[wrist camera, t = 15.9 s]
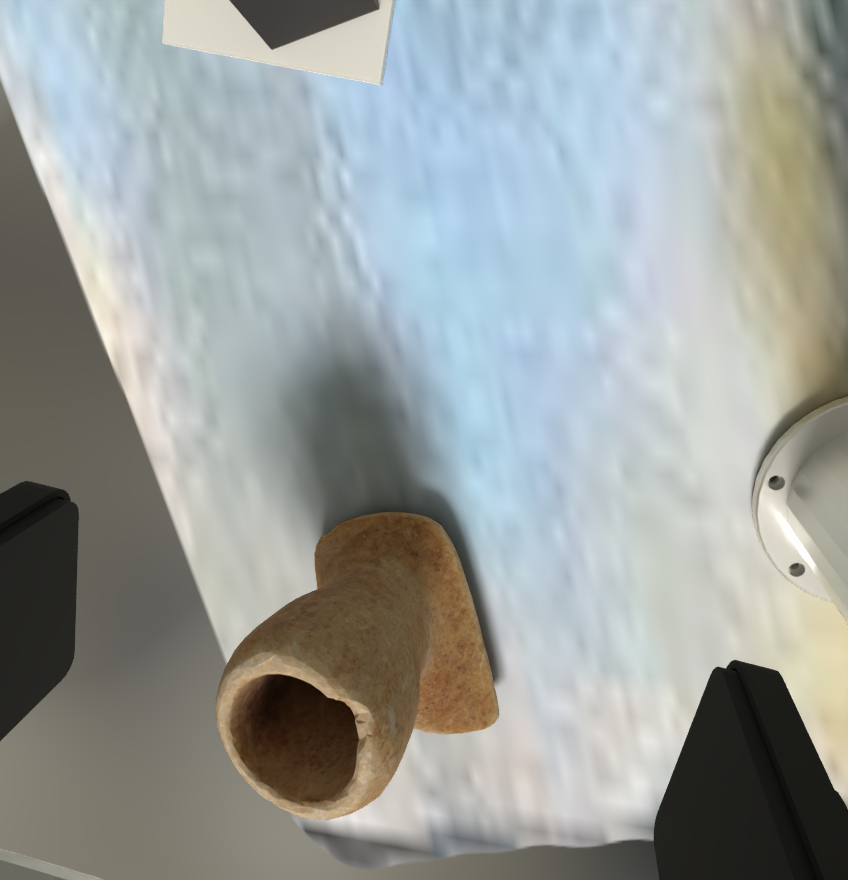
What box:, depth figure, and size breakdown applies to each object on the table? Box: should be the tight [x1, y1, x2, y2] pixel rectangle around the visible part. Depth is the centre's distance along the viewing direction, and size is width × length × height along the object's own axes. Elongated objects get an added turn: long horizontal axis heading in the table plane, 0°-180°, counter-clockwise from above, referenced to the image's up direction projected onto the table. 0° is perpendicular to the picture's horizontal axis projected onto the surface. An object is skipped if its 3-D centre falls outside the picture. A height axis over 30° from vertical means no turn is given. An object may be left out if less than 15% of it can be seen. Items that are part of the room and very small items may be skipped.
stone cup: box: [215, 512, 499, 820], centre depth 42 cm, size 15×12×15 cm
